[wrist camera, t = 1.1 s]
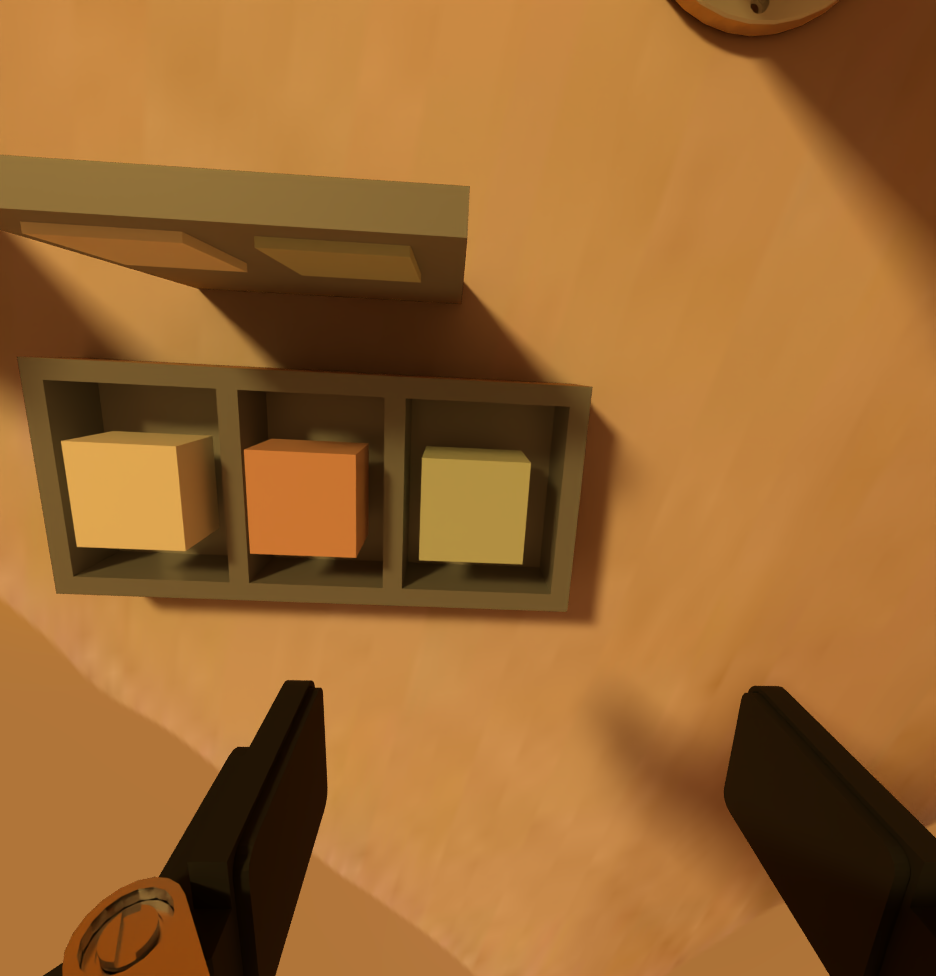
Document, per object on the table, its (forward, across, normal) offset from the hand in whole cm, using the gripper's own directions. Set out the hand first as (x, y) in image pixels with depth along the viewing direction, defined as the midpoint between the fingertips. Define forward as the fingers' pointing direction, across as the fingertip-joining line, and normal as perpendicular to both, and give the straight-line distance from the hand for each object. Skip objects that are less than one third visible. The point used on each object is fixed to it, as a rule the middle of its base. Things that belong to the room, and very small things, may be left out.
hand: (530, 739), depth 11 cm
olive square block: (+16, +1, -1) cm, 16 cm away
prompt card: (+19, +9, -12) cm, 24 cm away
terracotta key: (+16, +9, -1) cm, 19 cm away
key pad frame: (+19, +9, -1) cm, 21 cm away
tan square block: (+16, +17, -2) cm, 23 cm away
